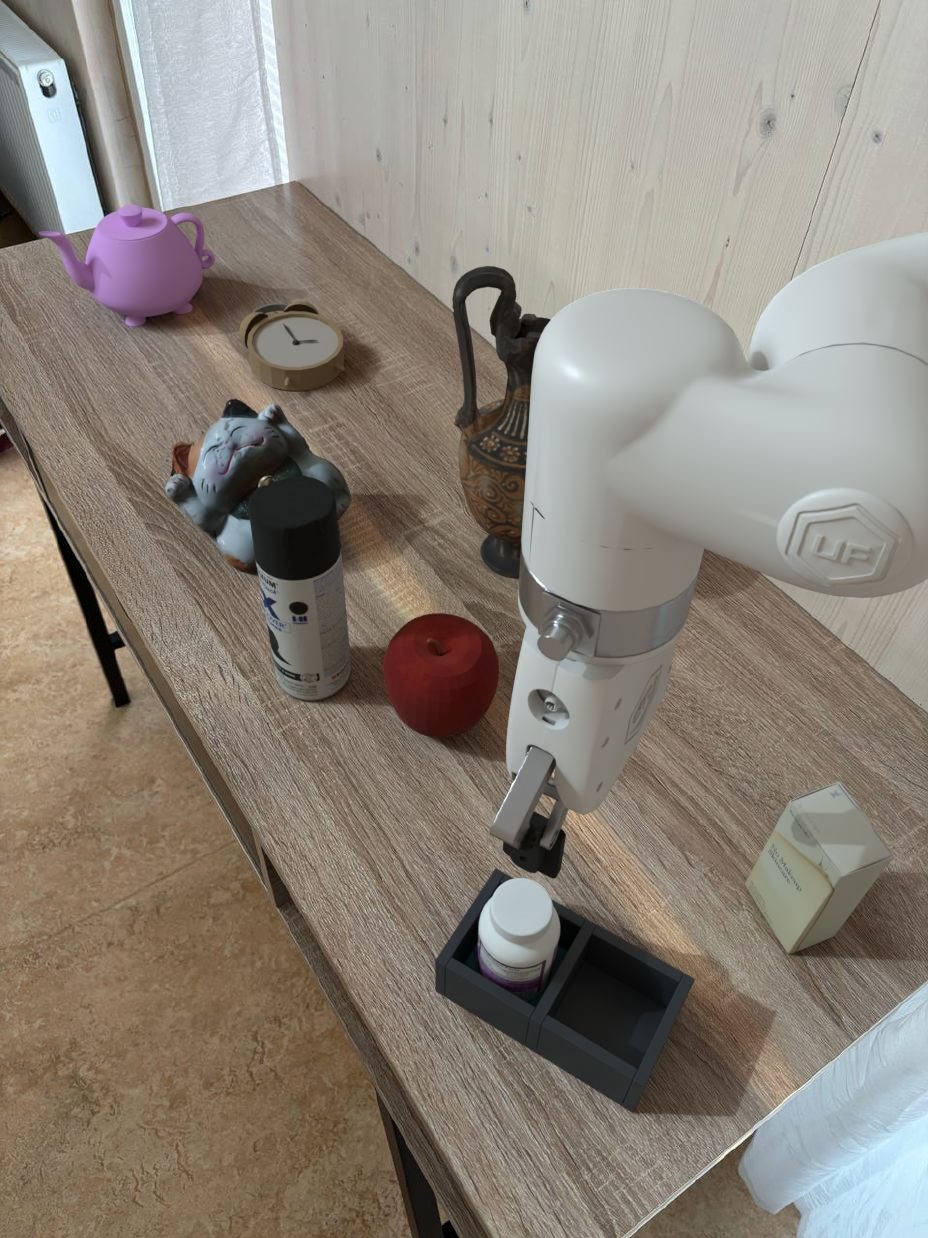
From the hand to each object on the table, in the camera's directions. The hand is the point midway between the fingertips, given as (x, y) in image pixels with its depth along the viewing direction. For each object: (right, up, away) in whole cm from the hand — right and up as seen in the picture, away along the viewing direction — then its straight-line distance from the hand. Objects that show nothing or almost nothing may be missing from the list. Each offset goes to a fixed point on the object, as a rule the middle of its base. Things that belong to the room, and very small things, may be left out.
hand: (572, 794), depth 56 cm
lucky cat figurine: (-26, +18, +46) cm, 56 cm away
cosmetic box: (+18, -12, +19) cm, 29 cm away
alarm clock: (-27, +41, +66) cm, 83 cm away
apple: (-8, +1, +31) cm, 32 cm away
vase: (-1, +17, +45) cm, 47 cm away
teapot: (-47, +50, +74) cm, 101 cm away
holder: (+1, -17, +14) cm, 22 cm away
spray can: (-19, +5, +34) cm, 39 cm away
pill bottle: (-3, -15, +15) cm, 21 cm away
